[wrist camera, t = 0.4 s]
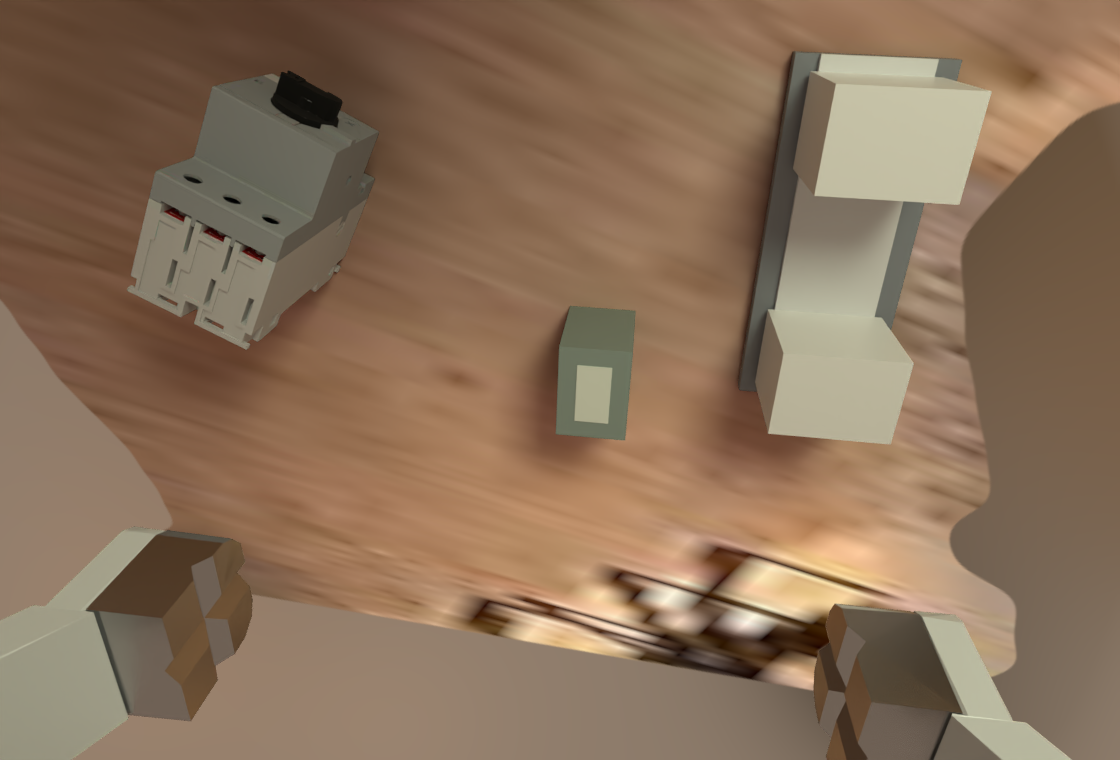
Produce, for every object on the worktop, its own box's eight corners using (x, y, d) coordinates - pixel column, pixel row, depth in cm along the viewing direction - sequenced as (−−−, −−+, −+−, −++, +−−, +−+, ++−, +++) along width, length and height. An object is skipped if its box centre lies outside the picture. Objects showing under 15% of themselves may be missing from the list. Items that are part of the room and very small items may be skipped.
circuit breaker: (405, 100, 51) (319, 137, 38) (338, 271, 58) (245, 353, 45) (305, 44, 50) (181, 62, 37) (249, 224, 57) (126, 294, 44)
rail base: (793, 51, 47) (820, 62, 39) (956, 58, 46) (1017, 71, 38) (737, 384, 58) (750, 444, 50) (868, 395, 57) (902, 458, 50)
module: (570, 305, 57) (559, 346, 50) (635, 310, 57) (632, 352, 50) (566, 386, 60) (555, 434, 54) (628, 391, 60) (624, 441, 53)
